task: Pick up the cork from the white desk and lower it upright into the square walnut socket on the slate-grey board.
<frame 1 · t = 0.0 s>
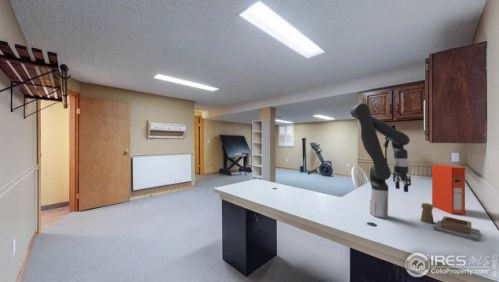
hand: (401, 190, 127), 17 cm above the table, tool pointing down, fingers open, 8 cm apart
socket block: (456, 231, 107), on the table
cork: (427, 222, 119), on the table
file binder: (447, 210, 141), on the table
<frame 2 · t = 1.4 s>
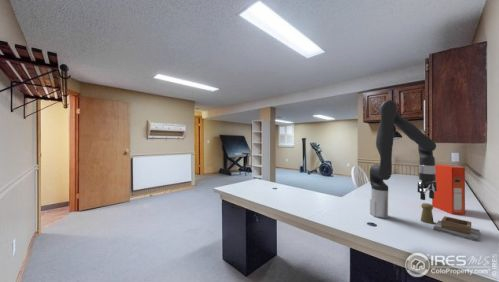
hand: (427, 199, 120), 14 cm above the table, tool pointing down, fingers open, 8 cm apart
nothing on the table moved.
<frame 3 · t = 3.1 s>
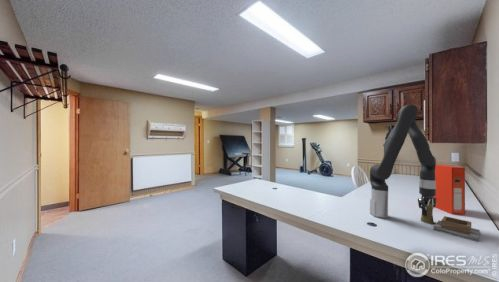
hand: (427, 214, 119), 4 cm above the table, tool pointing down, fingers closed on cork, 4 cm apart
cork: (427, 222, 119), on the table, touching gripper
everything else where it was.
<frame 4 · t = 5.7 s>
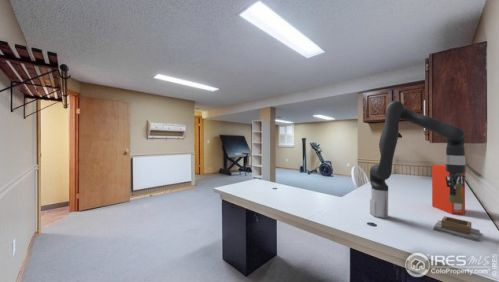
hand: (455, 194, 108), 20 cm above the table, tool pointing down, fingers closed on cork, 4 cm apart
cork: (455, 202, 108), point 15 cm above the table, touching gripper
everything else where it was.
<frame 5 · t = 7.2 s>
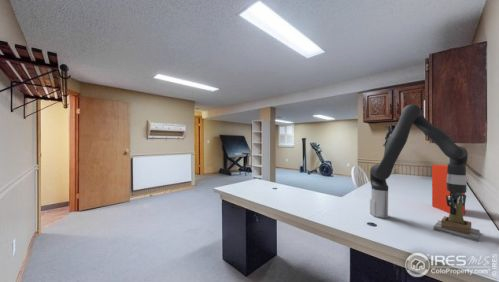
hand: (456, 213, 107), 9 cm above the table, tool pointing down, fingers closed on cork, 4 cm apart
cork: (456, 221, 107), point 5 cm above the table, touching gripper
everything else where it was.
when the fingers open (7 cm above the table, at t = 8.5 s): cork drops 1 cm, resting on socket block.
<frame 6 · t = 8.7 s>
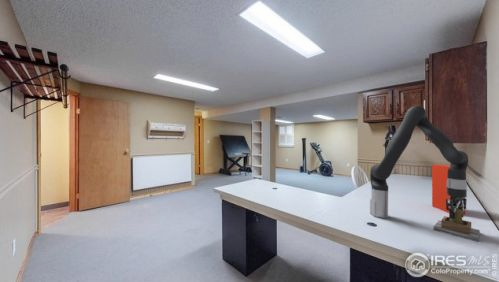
hand: (456, 217, 107), 7 cm above the table, tool pointing down, fingers open, 6 cm apart
cork: (455, 228, 107), point 1 cm above the table, touching socket block
everything else where it was.
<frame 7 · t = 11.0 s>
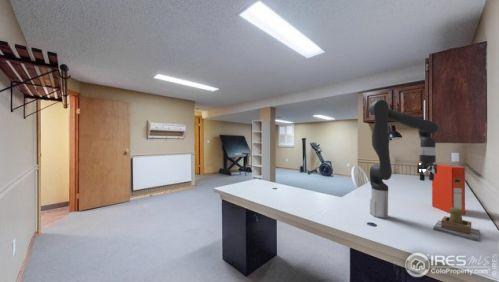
hand: (426, 180, 122), 25 cm above the table, tool pointing down, fingers open, 8 cm apart
nothing on the table moved.
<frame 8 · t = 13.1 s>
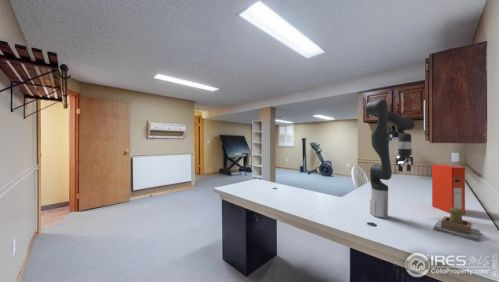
hand: (404, 171, 138), 28 cm above the table, tool pointing down, fingers open, 8 cm apart
nothing on the table moved.
at the end: cork 0.2 cm off-centre on the socket block, point 1.3 cm above the socket block's base; cork tilted 0°; the gripper is holding nothing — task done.
